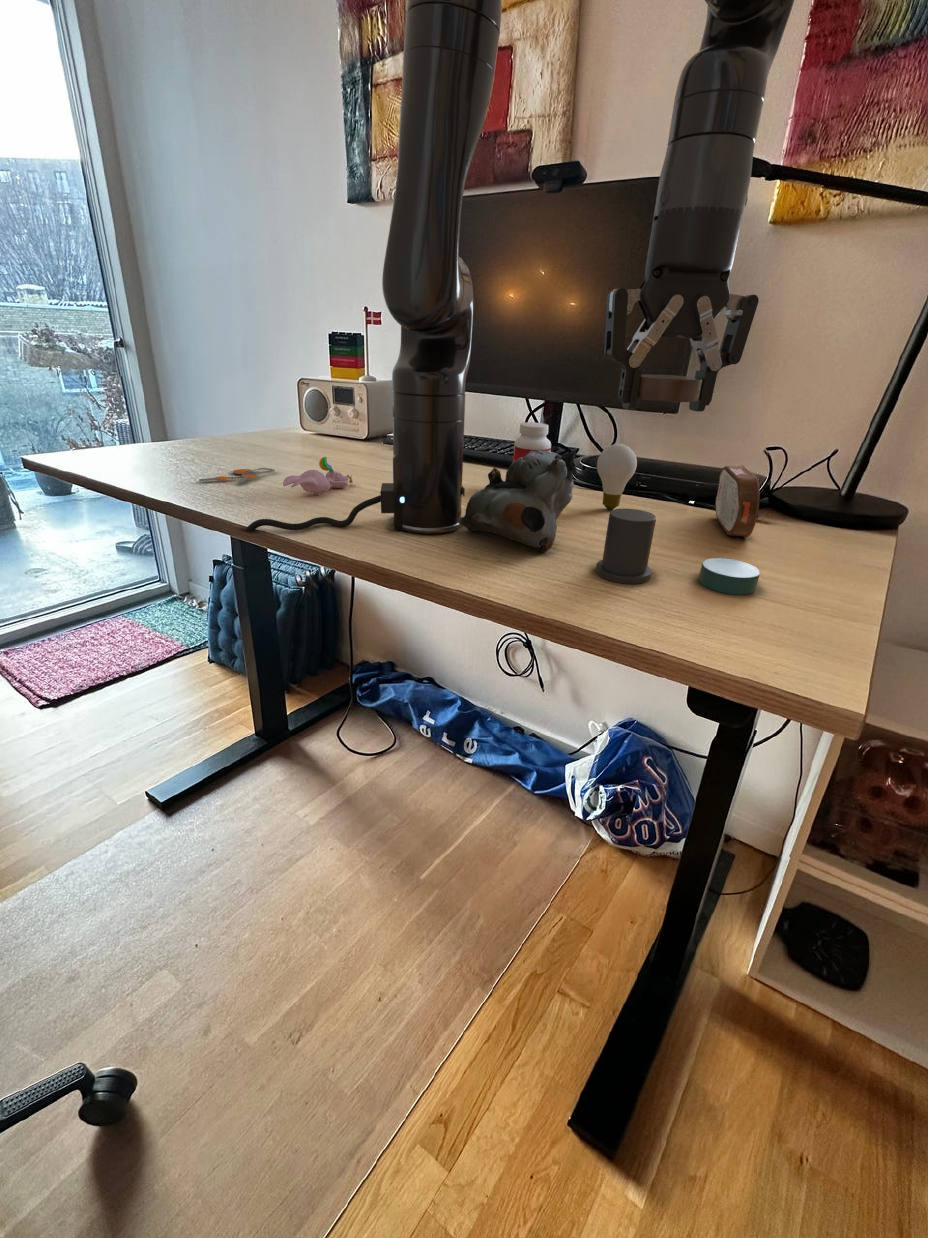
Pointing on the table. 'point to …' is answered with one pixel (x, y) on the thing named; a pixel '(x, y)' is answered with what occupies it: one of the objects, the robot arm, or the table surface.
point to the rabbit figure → (319, 479)
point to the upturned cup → (627, 546)
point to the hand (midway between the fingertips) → (662, 409)
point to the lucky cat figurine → (524, 499)
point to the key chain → (244, 477)
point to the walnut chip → (669, 388)
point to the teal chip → (729, 576)
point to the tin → (737, 500)
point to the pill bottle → (531, 439)
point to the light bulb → (615, 472)
